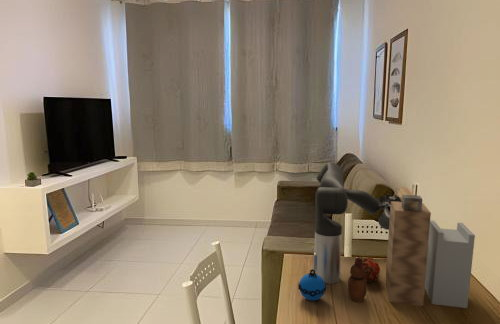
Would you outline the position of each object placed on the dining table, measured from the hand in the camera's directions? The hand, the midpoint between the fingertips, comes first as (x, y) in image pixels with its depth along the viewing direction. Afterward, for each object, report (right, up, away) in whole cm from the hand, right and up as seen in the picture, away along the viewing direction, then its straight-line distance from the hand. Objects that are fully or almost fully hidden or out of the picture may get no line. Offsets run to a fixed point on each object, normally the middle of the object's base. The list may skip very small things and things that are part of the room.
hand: (401, 196), depth 133 cm
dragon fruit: (-13, -30, 0) cm, 32 cm away
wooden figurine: (-20, -32, -13) cm, 40 cm away
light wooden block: (-3, -1, -11) cm, 11 cm away
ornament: (-35, -32, -13) cm, 49 cm away
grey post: (+9, -31, -12) cm, 35 cm away
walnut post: (-4, -31, -11) cm, 33 cm away
